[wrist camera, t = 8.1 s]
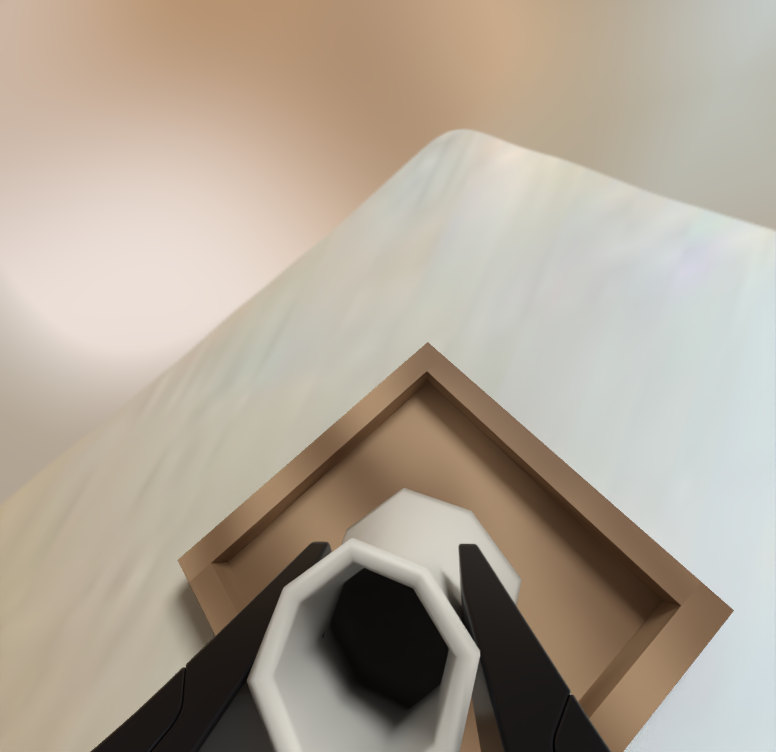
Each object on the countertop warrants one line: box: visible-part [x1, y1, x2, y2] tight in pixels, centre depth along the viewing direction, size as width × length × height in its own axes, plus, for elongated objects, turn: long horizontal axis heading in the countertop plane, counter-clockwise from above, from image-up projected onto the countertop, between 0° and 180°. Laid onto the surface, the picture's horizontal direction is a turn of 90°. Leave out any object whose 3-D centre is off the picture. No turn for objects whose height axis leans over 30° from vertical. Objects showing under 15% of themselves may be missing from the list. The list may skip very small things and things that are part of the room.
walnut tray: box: [178, 342, 734, 752], centre depth 16 cm, size 16×16×2 cm
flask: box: [247, 488, 522, 752], centre depth 10 cm, size 7×7×10 cm
